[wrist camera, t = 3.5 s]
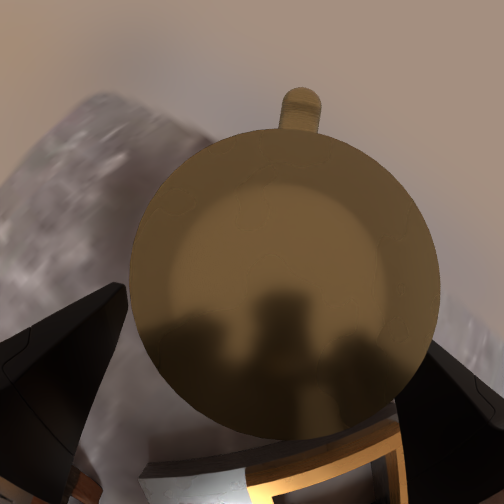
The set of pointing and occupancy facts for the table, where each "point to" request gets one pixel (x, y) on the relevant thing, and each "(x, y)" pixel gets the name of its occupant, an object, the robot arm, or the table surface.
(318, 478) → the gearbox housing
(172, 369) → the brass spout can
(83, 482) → the pottery mug
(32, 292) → the table surface
